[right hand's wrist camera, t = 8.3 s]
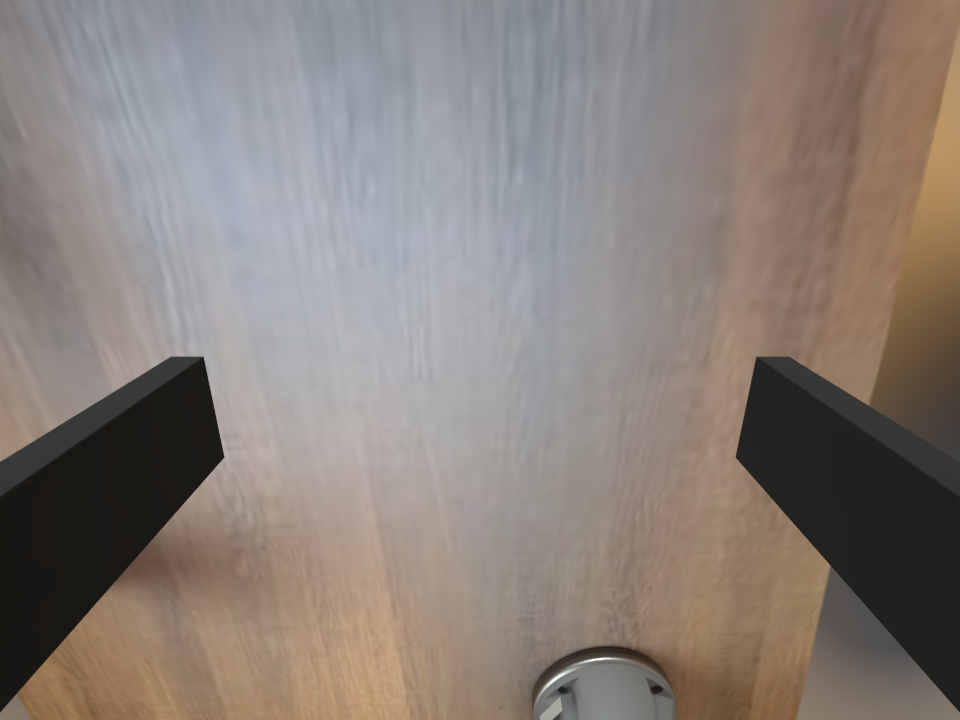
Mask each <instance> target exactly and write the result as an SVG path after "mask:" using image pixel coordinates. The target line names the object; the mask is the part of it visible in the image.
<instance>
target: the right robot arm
mask: <svg viewBox="0 0 960 720" xmlns="http://www.w3.org/2000/svg"><path fill="white" fill-rule="evenodd" d="M223 458H224V453H223V448H222V443H221V439H220V434H219V429H218V424H217V419H216V415H215V410H214V405H213V400H212V395H211V390H210V386H209V381H208V376H207V371H206V366H205V362H204V357H170V358H168V359H167V360H165V361H163V362H162V363H160V364H159V365H157V366H155V367H154V368H152V369H150V370H149V371H147V372H146V373H144V374H142V375H141V376H139V377H137V378H136V379H134V380H133V381H131V382H129V383H128V384H126V385H125V386H123V387H121V388H120V389H118V390H116V391H115V392H113V393H112V394H110V395H108V396H107V397H105V398H103V399H102V400H100V401H99V402H97V403H95V404H94V405H92V406H90V407H89V408H87V409H86V410H84V411H82V412H81V413H79V414H77V415H76V416H74V417H73V418H71V419H69V420H68V421H66V422H64V423H63V424H61V425H60V426H58V427H56V428H55V429H53V430H51V431H50V432H48V433H47V434H45V435H43V436H42V437H40V438H38V439H37V440H35V441H34V442H32V443H30V444H29V445H27V446H25V447H24V448H22V449H21V450H19V451H17V452H16V453H14V454H12V455H11V456H9V457H8V458H6V459H4V460H3V461H1V462H0V712H1V711H2V710H3V709H4V707H5V706H6V705H7V704H8V703H9V702H10V701H11V699H12V698H13V697H14V696H15V695H16V694H17V693H18V691H19V690H20V689H21V688H22V687H23V686H24V685H25V684H26V682H27V681H28V680H29V679H30V678H31V677H32V676H33V674H34V673H35V672H36V671H37V670H38V669H39V668H40V666H41V665H42V664H43V663H44V662H45V661H46V660H47V659H48V657H49V656H50V655H51V654H52V653H53V652H54V651H55V649H56V648H57V647H58V646H59V645H60V644H61V643H62V641H63V640H64V639H65V638H66V637H67V636H68V635H69V633H70V632H71V631H72V630H73V629H74V628H75V627H76V626H77V624H78V623H79V622H80V621H81V620H82V619H83V618H84V616H85V615H86V614H87V613H88V612H89V611H90V610H91V608H92V607H93V606H94V605H95V604H96V603H97V602H98V600H99V599H100V598H101V597H102V596H103V595H104V594H105V593H106V591H107V590H108V589H109V588H110V587H111V586H112V585H113V583H114V582H115V581H116V580H117V579H118V578H119V577H120V575H121V574H122V573H123V572H124V571H125V570H126V569H127V568H128V566H129V565H130V564H131V563H132V562H133V561H134V560H135V558H136V557H137V556H138V555H139V554H140V553H141V552H142V550H143V549H144V548H145V547H146V546H147V545H148V544H149V542H150V541H151V540H152V539H153V538H154V537H155V536H156V535H157V533H158V532H159V531H160V530H161V529H162V528H163V527H164V525H165V524H166V523H167V522H168V521H169V520H170V519H171V517H172V516H173V515H174V514H175V513H176V512H177V511H178V509H179V508H180V507H181V506H182V505H183V504H184V503H185V502H186V500H187V499H188V498H189V497H190V496H191V495H192V494H193V492H194V491H195V490H196V489H197V488H198V487H199V486H200V484H201V483H202V482H203V481H204V480H205V479H206V478H207V477H208V475H209V474H210V473H211V472H212V471H213V470H214V469H215V467H216V466H217V465H218V464H219V463H220V462H221V461H222V459H223ZM736 458H737V459H738V461H739V462H740V463H741V464H742V465H743V466H744V467H745V469H746V470H747V471H748V472H749V473H750V474H751V475H752V477H753V478H754V479H755V480H756V481H757V482H758V483H759V484H760V486H761V487H762V488H763V489H764V490H765V491H766V492H767V494H768V495H769V496H770V497H771V498H772V499H773V500H774V502H775V503H776V504H777V505H778V506H779V507H780V508H781V509H782V511H783V512H784V513H785V514H786V515H787V516H788V517H789V519H790V520H791V521H792V522H793V523H794V524H795V525H796V527H797V528H798V529H799V530H800V531H801V532H802V533H803V535H804V536H805V537H806V538H807V539H808V540H809V541H810V542H811V544H812V545H813V546H814V547H815V548H816V549H817V550H818V552H819V553H820V554H821V555H822V556H823V557H824V558H825V560H826V561H827V562H828V563H829V564H830V565H831V566H832V567H833V569H834V570H835V571H836V572H837V573H838V574H839V575H840V577H841V578H842V579H843V580H844V581H845V582H846V583H847V585H848V586H849V587H850V588H851V589H852V590H853V591H854V593H855V594H856V595H857V596H858V597H859V598H860V599H861V600H862V602H863V603H864V604H865V605H866V606H867V607H868V608H869V610H870V611H871V612H872V613H873V614H874V615H875V616H876V618H877V619H878V620H879V621H880V622H881V623H882V624H883V625H884V627H885V628H886V629H887V630H888V631H889V632H890V633H891V635H892V636H893V637H894V638H895V639H896V640H897V641H898V643H899V644H900V645H901V646H902V647H903V648H904V649H905V651H906V652H907V653H908V654H909V655H910V656H911V657H912V658H913V660H914V661H915V662H916V663H917V664H918V665H919V666H920V668H921V669H922V670H923V671H924V672H925V673H926V674H927V676H928V677H929V678H930V679H931V680H932V681H933V682H934V684H935V685H936V686H937V687H938V688H939V689H940V690H941V691H942V693H943V694H944V695H945V696H946V697H947V698H948V699H949V701H950V702H951V703H952V704H953V705H954V706H955V707H956V709H957V710H958V711H959V712H960V462H959V461H957V460H956V459H954V458H952V457H951V456H949V455H948V454H946V453H944V452H943V451H941V450H939V449H938V448H936V447H935V446H933V445H931V444H930V443H928V442H926V441H925V440H923V439H922V438H920V437H918V436H917V435H915V434H913V433H912V432H910V431H909V430H907V429H905V428H904V427H902V426H900V425H899V424H897V423H896V422H894V421H892V420H891V419H889V418H887V417H886V416H884V415H883V414H881V413H879V412H878V411H876V410H874V409H873V408H871V407H870V406H868V405H866V404H865V403H863V402H861V401H860V400H858V399H857V398H855V397H853V396H852V395H850V394H848V393H847V392H845V391H844V390H842V389H840V388H839V387H837V386H835V385H834V384H832V383H831V382H829V381H827V380H826V379H824V378H823V377H821V376H819V375H818V374H816V373H814V372H813V371H811V370H810V369H808V368H806V367H805V366H803V365H801V364H800V363H798V362H797V361H795V360H793V359H792V358H790V357H756V362H755V366H754V371H753V376H752V381H751V386H750V390H749V395H748V400H747V405H746V410H745V415H744V419H743V424H742V429H741V434H740V439H739V443H738V448H737V453H736ZM532 709H533V719H534V720H677V703H676V699H675V695H674V693H673V690H672V687H671V685H670V682H669V679H668V677H667V675H666V674H665V672H664V671H663V669H662V668H661V667H660V666H659V665H658V664H657V663H655V662H654V661H653V660H651V659H650V658H648V657H646V656H644V655H642V654H639V653H637V652H634V651H630V650H625V649H619V648H596V649H589V650H584V651H580V652H577V653H574V654H571V655H569V656H567V657H565V658H563V659H561V660H559V661H557V662H556V663H554V664H553V665H552V666H550V667H549V668H548V669H547V670H546V671H545V672H544V673H543V674H542V675H541V677H540V678H539V679H538V681H537V683H536V685H535V687H534V690H533V694H532Z"/></svg>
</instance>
